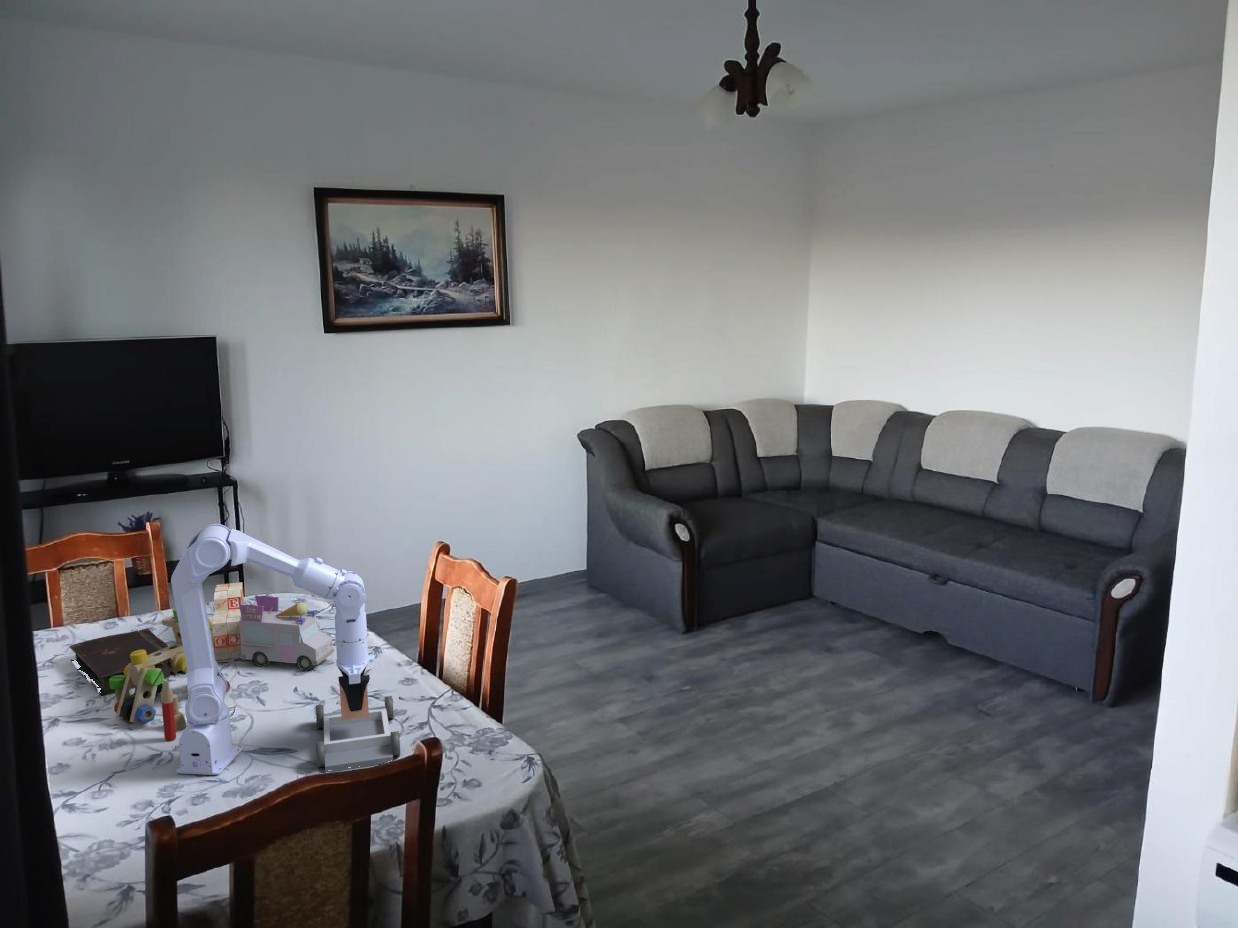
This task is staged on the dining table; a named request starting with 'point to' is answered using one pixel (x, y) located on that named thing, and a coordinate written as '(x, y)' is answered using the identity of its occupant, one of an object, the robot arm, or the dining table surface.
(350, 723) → the chassis
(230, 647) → the stack of blocks
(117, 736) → the dining table surface
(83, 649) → the diary
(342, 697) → the light orange block
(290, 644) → the toy vehicle
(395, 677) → the dining table surface
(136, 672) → the toy construction set
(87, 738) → the dining table surface
